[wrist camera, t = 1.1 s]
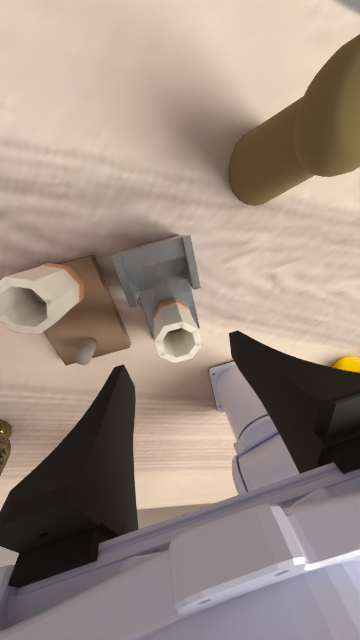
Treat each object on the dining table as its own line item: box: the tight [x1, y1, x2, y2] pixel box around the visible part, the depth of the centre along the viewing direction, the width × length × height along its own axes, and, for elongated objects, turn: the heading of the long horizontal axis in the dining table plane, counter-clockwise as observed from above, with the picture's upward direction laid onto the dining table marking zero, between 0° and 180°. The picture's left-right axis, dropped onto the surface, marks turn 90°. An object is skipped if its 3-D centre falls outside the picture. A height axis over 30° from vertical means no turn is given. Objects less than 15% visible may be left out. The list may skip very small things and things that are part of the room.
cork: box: [229, 35, 360, 205], centre depth 13 cm, size 6×6×11 cm
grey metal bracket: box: [111, 235, 201, 338], centre depth 19 cm, size 11×6×6 cm, turn 14°
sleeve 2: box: [153, 299, 202, 363], centre depth 20 cm, size 4×4×6 cm
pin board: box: [35, 255, 131, 365], centre depth 20 cm, size 11×8×4 cm
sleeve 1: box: [0, 263, 84, 334], centre depth 16 cm, size 4×4×6 cm
